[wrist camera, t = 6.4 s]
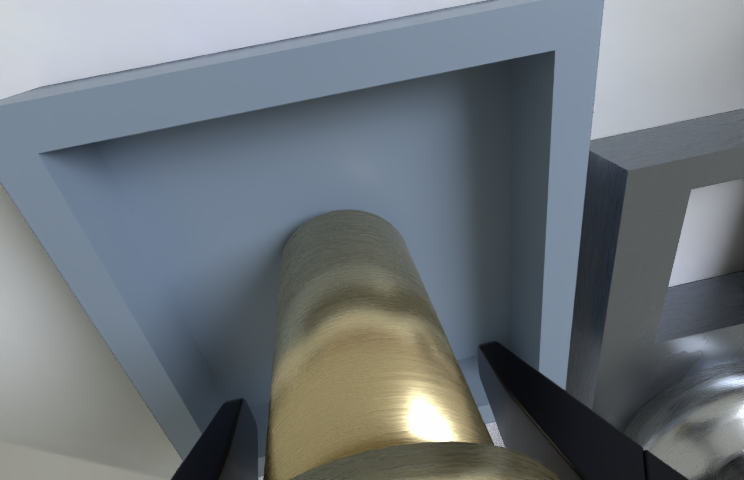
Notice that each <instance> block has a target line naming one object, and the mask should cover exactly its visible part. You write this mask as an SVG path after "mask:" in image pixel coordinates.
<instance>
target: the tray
mask: <svg viewBox="0 0 744 480" xmlns="http://www.w3.org/2000/svg"><path fill="white" fill-rule="evenodd" d="M603 6H604V0H486V1H481V2H476V3H471V4H466V5H461V6H455V7H450V8H445V9H440V10H435V11H430V12H424V13H419V14H414V15H409V16H404V17H399V18H393V19H388V20H383V21H378V22H373V23H368V24H363V25H357V26H352V27H347V28H342V29H337V30H332V31H326V32H321V33H316V34H311V35H306V36H301V37H295V38H290V39H285V40H280V41H275V42H270V43H265V44H259V45H254V46H249V47H244V48H239V49H234V50H228V51H223V52H218V53H213V54H208V55H203V56H197V57H192V58H187V59H182V60H177V61H172V62H166V63H161V64H156V65H151V66H146V67H141V68H136V69H130V70H125V71H120V72H115V73H110V74H105V75H99V76H94V77H89V78H84V79H79V80H74V81H68V82H63V83H58V84H53V85H48V86H43V87H39V88H35V89H32V90H29V91H26V92H23V93H20V94H17V95H14V96H11V97H8V98H5V99H2V100H0V182H1V184H2V185H3V187H4V188H5V190H6V191H7V193H8V194H9V196H10V197H11V199H12V200H13V202H14V204H15V205H16V207H17V208H18V210H19V211H20V213H21V214H22V216H23V217H24V219H25V220H26V222H27V223H28V225H29V226H30V228H31V229H32V231H33V233H34V234H35V236H36V237H37V239H38V240H39V242H40V243H41V245H42V246H43V248H44V249H45V251H46V252H47V254H48V255H49V257H50V258H51V260H52V262H53V263H54V265H55V266H56V268H57V269H58V271H59V272H60V274H61V275H62V277H63V278H64V280H65V281H66V283H67V284H68V286H69V287H70V289H71V291H72V292H73V294H74V295H75V297H76V298H77V300H78V301H79V303H80V304H81V306H82V307H83V309H84V310H85V312H86V313H87V315H88V316H89V318H90V320H91V321H92V323H93V324H94V326H95V327H96V329H97V330H98V332H99V333H100V335H101V336H102V338H103V339H104V341H105V342H106V344H107V345H108V347H109V349H110V350H111V352H112V353H113V355H114V356H115V358H116V359H117V361H118V362H119V364H120V365H121V367H122V368H123V370H124V371H125V373H126V374H127V376H128V378H129V379H130V381H131V382H132V384H133V385H134V387H135V388H136V390H137V391H138V393H139V394H140V396H141V397H142V399H143V400H144V402H145V403H146V405H147V407H148V408H149V410H150V411H151V413H152V414H153V416H154V417H155V419H156V420H157V422H158V423H159V425H160V426H161V428H162V429H163V431H164V432H165V434H166V436H167V437H168V439H169V440H170V442H171V443H172V445H173V446H174V448H175V449H176V451H177V452H178V454H179V455H180V457H181V458H182V460H183V461H184V459H185V458H186V457H187V455H188V454H189V452H190V451H191V449H192V448H193V446H194V445H195V443H196V442H197V441H198V439H199V438H200V436H201V435H202V433H203V432H204V430H205V429H206V427H207V426H208V425H209V423H210V422H211V420H212V419H213V417H214V416H215V414H216V413H217V411H218V410H219V409H220V407H221V406H222V404H223V403H224V402H226V401H229V400H233V399H238V398H244V399H245V400H246V401H247V403H248V406H249V408H250V410H251V412H252V414H253V416H254V418H255V420H256V423H257V429H258V477H261V476H264V465H265V452H266V440H267V427H268V414H269V401H270V388H271V375H272V362H273V349H274V336H275V324H276V311H277V298H278V285H279V272H280V260H281V256H282V252H283V250H284V247H285V245H286V243H287V242H288V240H289V238H290V237H291V236H292V235H293V233H294V232H295V231H296V230H297V229H298V228H299V227H300V226H302V225H303V224H305V223H306V222H307V221H309V220H311V219H313V218H314V217H316V216H319V215H321V214H324V213H327V212H331V211H336V210H348V209H352V210H361V211H366V212H370V213H372V214H375V215H378V216H380V217H382V218H384V219H385V220H386V221H388V222H389V223H391V224H392V225H393V226H394V227H395V228H396V229H397V230H398V231H399V233H400V234H401V235H402V237H403V239H404V241H405V243H406V245H407V247H408V250H409V252H410V254H411V257H412V259H413V261H414V263H415V266H416V268H417V270H418V272H419V275H420V277H421V279H422V282H423V284H424V286H425V288H426V291H427V293H428V295H429V298H430V300H431V302H432V304H433V307H434V309H435V311H436V314H437V316H438V318H439V320H440V323H441V325H442V327H443V330H444V332H445V334H446V336H447V339H448V341H449V343H450V346H451V348H452V350H453V352H454V355H455V357H456V359H457V361H458V364H459V366H460V368H461V371H462V373H463V375H464V377H465V380H466V382H467V384H468V387H469V389H470V391H471V393H472V396H473V398H474V400H475V403H476V405H477V407H478V409H479V412H480V414H481V416H482V419H483V421H484V423H485V424H488V423H492V422H496V421H495V418H494V415H493V412H492V410H491V407H490V404H489V401H488V399H487V396H486V393H485V391H484V388H483V385H482V382H481V379H480V376H479V370H478V352H477V348H478V345H479V344H482V343H486V342H490V341H497V342H499V343H500V344H502V345H503V346H504V347H506V348H507V349H509V350H510V351H511V352H513V353H514V354H516V355H517V356H518V357H520V358H521V359H522V360H524V361H525V362H527V363H528V364H529V365H531V366H532V367H533V368H535V369H536V370H538V371H539V372H540V373H542V374H543V375H544V376H546V377H547V378H549V379H550V380H551V381H553V382H554V383H555V384H557V385H558V386H560V387H561V388H562V389H564V390H565V389H566V378H567V368H568V358H569V348H570V338H571V328H572V318H573V308H574V298H575V288H576V278H577V268H578V258H579V248H580V238H581V228H582V218H583V207H584V197H585V187H586V177H587V167H588V157H589V147H590V137H591V127H592V117H593V107H594V97H595V87H596V77H597V67H598V57H599V46H600V36H601V26H602V16H603Z"/></svg>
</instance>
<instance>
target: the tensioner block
mask: <svg viewBox="0 0 744 480" xmlns="http://www.w3.org/2000/svg"><path fill="white" fill-rule="evenodd" d="M741 178H744V109H740V110H735V111H730V112H726V113H721V114H716V115H711V116H706V117H702V118H697V119H692V120H687V121H683V122H678V123H673V124H668V125H663V126H659V127H654V128H649V129H644V130H639V131H635V132H630V133H625V134H620V135H616V136H611V137H606V138H601V139H596V140H592V141H590V147H589V157H588V167H587V177H586V187H585V197H584V207H583V218H582V228H581V238H580V248H579V258H578V268H577V278H576V288H575V298H574V308H573V318H572V328H571V338H570V348H569V358H568V368H567V378H566V389H565V391H566V392H568V393H569V394H571V395H572V396H573V397H575V398H576V399H577V400H579V401H580V402H582V403H583V404H584V405H586V406H587V407H589V408H590V409H591V410H593V411H594V412H595V413H597V414H598V415H600V416H601V417H602V418H604V419H605V420H606V421H608V422H609V423H611V424H612V425H613V426H615V427H616V428H617V429H619V430H620V431H622V432H623V433H624V434H626V435H627V436H628V437H630V438H631V439H633V440H634V441H635V442H637V443H638V444H639V445H641V446H642V447H643V451H644V450H648V451H649V452H651V453H652V454H654V455H655V456H656V457H658V458H659V459H660V460H662V461H663V462H665V463H666V464H667V465H669V466H670V467H672V468H673V469H674V470H676V471H677V472H679V473H680V474H682V475H683V476H685V477H686V478H687V479H689V480H744V271H741V272H737V273H732V274H728V275H723V276H719V277H714V278H710V279H705V280H701V281H696V282H692V283H688V284H683V285H679V286H674V287H670V288H668V284H669V280H670V276H671V272H672V268H673V263H674V259H675V255H676V251H677V246H678V242H679V238H680V234H681V230H682V225H683V221H684V217H685V213H686V208H687V204H688V200H689V196H690V192H691V189H695V188H699V187H704V186H709V185H713V184H718V183H723V182H727V181H732V180H736V179H741Z"/></svg>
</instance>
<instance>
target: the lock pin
mask: <svg viewBox="0 0 744 480" xmlns="http://www.w3.org/2000/svg"><path fill="white" fill-rule="evenodd" d="M263 480H561V479H560V478H559V477H558V475H557V474H556V473H555V472H554V471H553V470H551V469H550V468H549V467H547V466H546V465H544V464H543V463H541V462H540V461H538V460H536V459H534V458H532V457H530V456H527V455H525V454H523V453H520V452H517V451H513V450H510V449H507V448H503V447H498V446H494V444H493V441H492V439H491V437H490V435H489V432H488V430H487V428H486V425H485V423H484V421H483V419H482V416H481V414H480V412H479V409H478V407H477V405H476V403H475V400H474V398H473V396H472V393H471V391H470V389H469V387H468V384H467V382H466V380H465V377H464V375H463V373H462V371H461V368H460V366H459V364H458V361H457V359H456V357H455V355H454V352H453V350H452V348H451V346H450V343H449V341H448V339H447V336H446V334H445V332H444V330H443V327H442V325H441V323H440V320H439V318H438V316H437V314H436V311H435V309H434V307H433V304H432V302H431V300H430V298H429V295H428V293H427V291H426V288H425V286H424V284H423V282H422V279H421V277H420V275H419V272H418V270H417V268H416V266H415V263H414V261H413V259H412V257H411V254H410V252H409V250H408V247H407V245H406V243H405V241H404V239H403V237H402V235H401V234H400V233H399V231H398V230H397V229H396V228H395V227H394V226H393V225H392V224H391V223H389V222H388V221H386V220H385V219H384V218H382V217H380V216H378V215H375V214H372V213H370V212H366V211H361V210H352V209H348V210H336V211H331V212H327V213H324V214H321V215H319V216H316V217H314V218H313V219H311V220H309V221H307V222H306V223H305V224H303V225H302V226H300V227H299V228H298V229H297V230H296V231H295V232H294V233H293V235H292V236H291V237H290V238H289V240H288V242H287V243H286V245H285V247H284V250H283V252H282V256H281V260H280V272H279V285H278V298H277V311H276V324H275V336H274V349H273V362H272V375H271V388H270V401H269V414H268V427H267V440H266V452H265V465H264V478H263Z"/></svg>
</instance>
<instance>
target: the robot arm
mask: <svg viewBox="0 0 744 480" xmlns="http://www.w3.org/2000/svg"><path fill="white" fill-rule="evenodd" d="M477 352H478V370H479V376H480V379H481V382H482V385H483V388H484V391H485V393H486V396H487V399H488V401H489V404H490V407H491V410H492V412H493V415H494V418H495V421H496V423H497V426H498V429H499V432H500V434H501V437H502V440H503V442H504V445H505V447H506V448H507V449H510V450H513V451H517V452H520V453H523V454H525V455H527V456H530V457H532V458H534V459H536V460H538V461H540V462H541V463H543V464H544V465H546V466H547V467H549V468H550V469H551V470H553V471H554V472H555V473H556V474H557V475H558V477H559V478H560V479H561V480H689V479H687V478H686V477H685V476H683V475H682V474H680V473H679V472H677V471H676V470H674V469H673V468H672V467H670V466H669V465H667V464H666V463H665V462H663V461H662V460H660V459H659V458H658V457H656V456H655V455H654V454H652V453H651V452H649V451H648V450H644V451H643V447H642V446H641V445H639V444H638V443H637V442H635V441H634V440H633V439H631V438H630V437H628V436H627V435H626V434H624V433H623V432H622V431H620V430H619V429H617V428H616V427H615V426H613V425H612V424H611V423H609V422H608V421H606V420H605V419H604V418H602V417H601V416H600V415H598V414H597V413H595V412H594V411H593V410H591V409H590V408H589V407H587V406H586V405H584V404H583V403H582V402H580V401H579V400H577V399H576V398H575V397H573V396H572V395H571V394H569V393H568V392H566V391H565V390H564V389H562V388H561V387H560V386H558V385H557V384H555V383H554V382H553V381H551V380H550V379H549V378H547V377H546V376H544V375H543V374H542V373H540V372H539V371H538V370H536V369H535V368H533V367H532V366H531V365H529V364H528V363H527V362H525V361H524V360H522V359H521V358H520V357H518V356H517V355H516V354H514V353H513V352H511V351H510V350H509V349H507V348H506V347H504V346H503V345H502V344H500V343H499V342H497V341H490V342H486V343H482V344H479V345H478V348H477ZM171 480H258V429H257V423H256V420H255V418H254V416H253V414H252V412H251V410H250V408H249V406H248V403H247V401H246V400H245V399H244V398H238V399H233V400H229V401H226V402H224V403H223V404H222V406H221V407H220V409H219V410H218V411H217V413H216V414H215V416H214V417H213V419H212V420H211V422H210V423H209V425H208V426H207V427H206V429H205V430H204V432H203V433H202V435H201V436H200V438H199V439H198V441H197V442H196V443H195V445H194V446H193V448H192V449H191V451H190V452H189V454H188V455H187V457H186V458H185V459H184V461H183V462H182V464H181V465H180V467H179V468H178V470H177V471H176V473H175V474H174V475H173V477H172V478H171Z"/></svg>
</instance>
